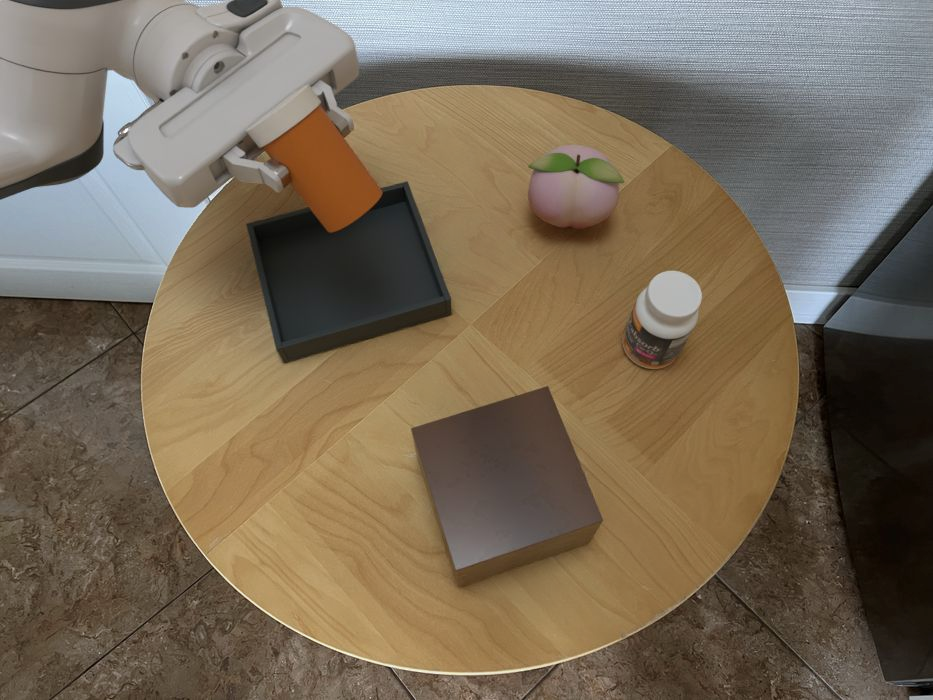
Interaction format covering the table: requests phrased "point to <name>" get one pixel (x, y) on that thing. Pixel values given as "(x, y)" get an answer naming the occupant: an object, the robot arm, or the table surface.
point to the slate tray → (347, 275)
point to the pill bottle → (662, 320)
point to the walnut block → (505, 486)
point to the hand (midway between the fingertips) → (316, 155)
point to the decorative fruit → (573, 186)
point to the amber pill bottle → (317, 159)
